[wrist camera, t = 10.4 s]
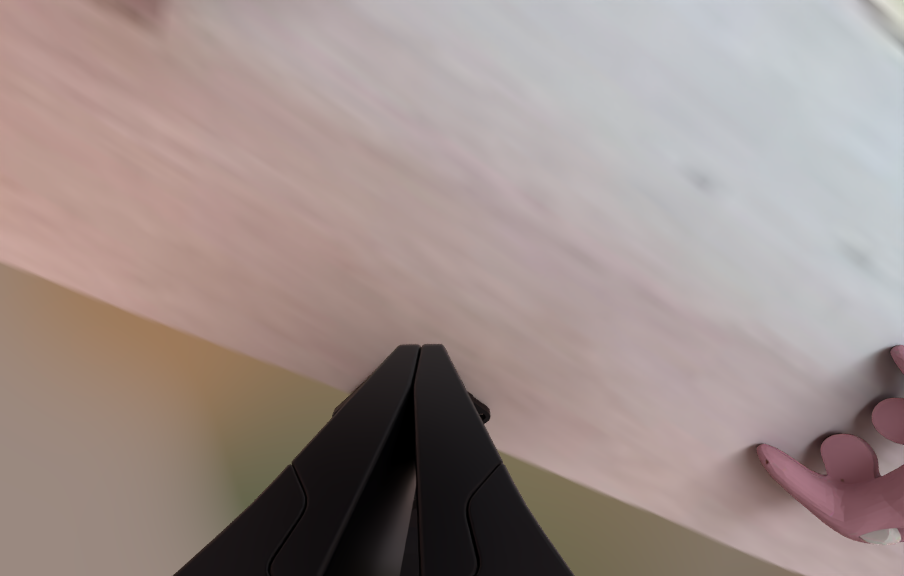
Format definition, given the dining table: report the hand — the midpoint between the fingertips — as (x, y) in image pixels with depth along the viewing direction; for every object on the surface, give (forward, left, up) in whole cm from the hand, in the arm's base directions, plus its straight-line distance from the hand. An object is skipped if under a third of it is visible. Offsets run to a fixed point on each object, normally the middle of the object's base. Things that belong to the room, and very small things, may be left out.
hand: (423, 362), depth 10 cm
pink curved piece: (+4, -26, -13) cm, 29 cm away
